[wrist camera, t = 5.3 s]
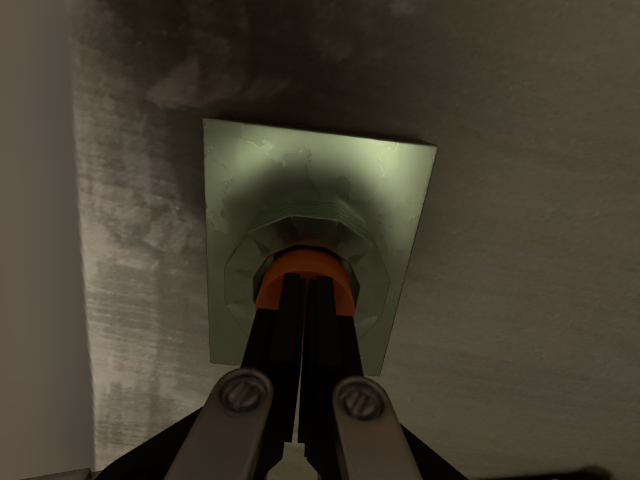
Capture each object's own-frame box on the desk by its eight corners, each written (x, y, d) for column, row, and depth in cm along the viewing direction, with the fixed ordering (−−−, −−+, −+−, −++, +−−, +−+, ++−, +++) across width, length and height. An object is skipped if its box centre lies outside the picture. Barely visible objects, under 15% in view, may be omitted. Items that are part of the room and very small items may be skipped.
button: (264, 243, 12) (256, 264, 10) (357, 252, 12) (363, 274, 11) (260, 319, 13) (253, 348, 12) (343, 326, 14) (347, 356, 12)
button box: (218, 115, 13) (181, 118, 10) (421, 139, 14) (459, 152, 10) (221, 335, 18) (197, 393, 14) (373, 347, 19) (387, 407, 15)
